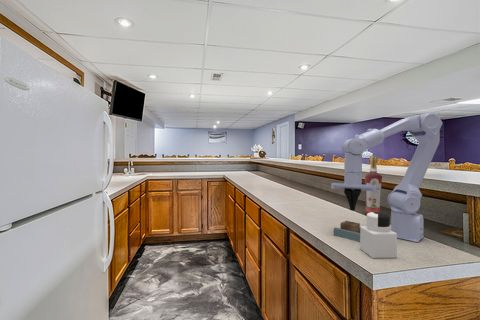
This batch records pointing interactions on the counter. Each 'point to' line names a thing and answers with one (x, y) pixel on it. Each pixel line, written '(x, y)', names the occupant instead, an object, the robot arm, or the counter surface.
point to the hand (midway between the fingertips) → (352, 209)
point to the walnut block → (350, 226)
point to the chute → (347, 234)
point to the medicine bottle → (378, 236)
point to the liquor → (372, 196)
